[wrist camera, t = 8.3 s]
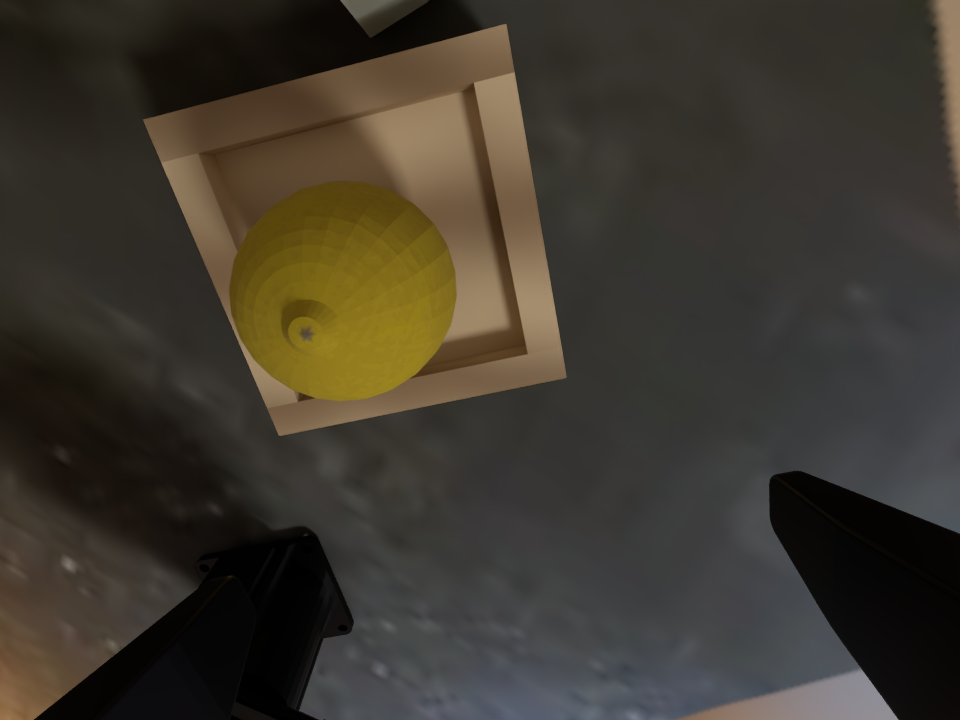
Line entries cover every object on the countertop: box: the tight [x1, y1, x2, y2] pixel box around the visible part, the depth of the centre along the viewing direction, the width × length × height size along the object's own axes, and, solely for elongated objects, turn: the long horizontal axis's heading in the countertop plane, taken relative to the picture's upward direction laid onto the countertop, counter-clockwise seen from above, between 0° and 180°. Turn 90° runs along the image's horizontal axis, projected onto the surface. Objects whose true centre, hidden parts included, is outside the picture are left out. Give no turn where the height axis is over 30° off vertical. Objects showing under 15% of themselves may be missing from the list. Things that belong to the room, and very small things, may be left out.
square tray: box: [143, 24, 567, 436], centre depth 17 cm, size 11×11×4 cm
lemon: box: [229, 181, 457, 401], centre depth 13 cm, size 6×6×8 cm
